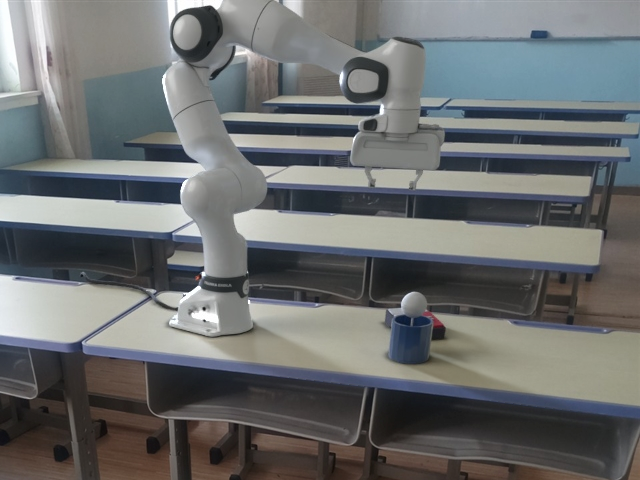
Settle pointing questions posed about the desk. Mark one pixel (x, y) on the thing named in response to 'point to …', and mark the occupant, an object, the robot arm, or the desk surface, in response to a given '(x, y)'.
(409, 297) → the lollipop
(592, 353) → the desk surface
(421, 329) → the cup
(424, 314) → the calculator
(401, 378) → the desk surface
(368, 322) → the desk surface
